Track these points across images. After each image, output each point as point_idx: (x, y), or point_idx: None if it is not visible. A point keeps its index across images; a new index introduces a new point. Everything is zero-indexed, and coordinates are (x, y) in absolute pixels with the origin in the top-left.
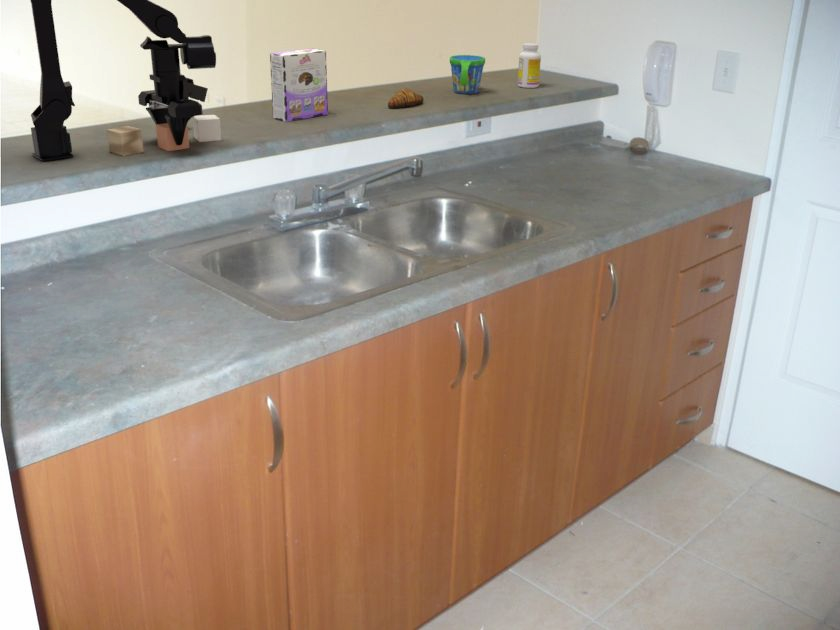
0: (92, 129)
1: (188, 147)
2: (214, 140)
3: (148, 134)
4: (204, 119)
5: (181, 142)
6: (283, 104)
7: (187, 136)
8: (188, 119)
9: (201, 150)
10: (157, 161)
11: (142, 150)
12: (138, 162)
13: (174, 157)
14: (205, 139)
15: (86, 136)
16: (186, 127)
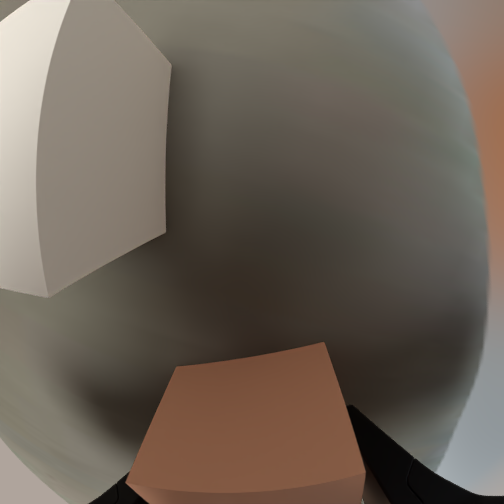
0: (6, 438)
1: (325, 350)
2: (166, 112)
3: (14, 384)
4: (18, 176)
5: (359, 415)
6: None
7: (342, 402)
8: (493, 501)
9: (422, 285)
10: (443, 447)
11: None
12: None
13: (445, 411)
14: (159, 183)
15: (62, 478)
16: (363, 466)
